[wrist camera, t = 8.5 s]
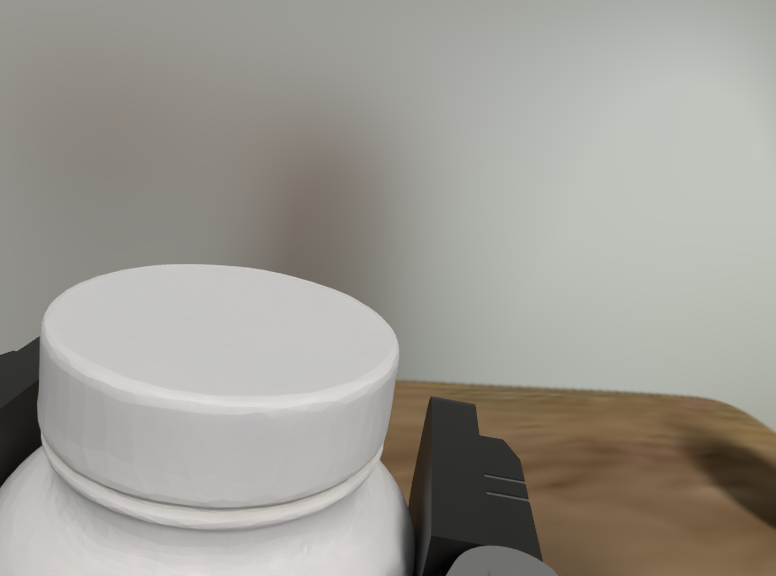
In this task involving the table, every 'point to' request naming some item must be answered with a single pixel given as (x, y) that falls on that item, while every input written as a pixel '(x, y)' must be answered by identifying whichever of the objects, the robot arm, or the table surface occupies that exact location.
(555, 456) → the table surface
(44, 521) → the supplement bottle
